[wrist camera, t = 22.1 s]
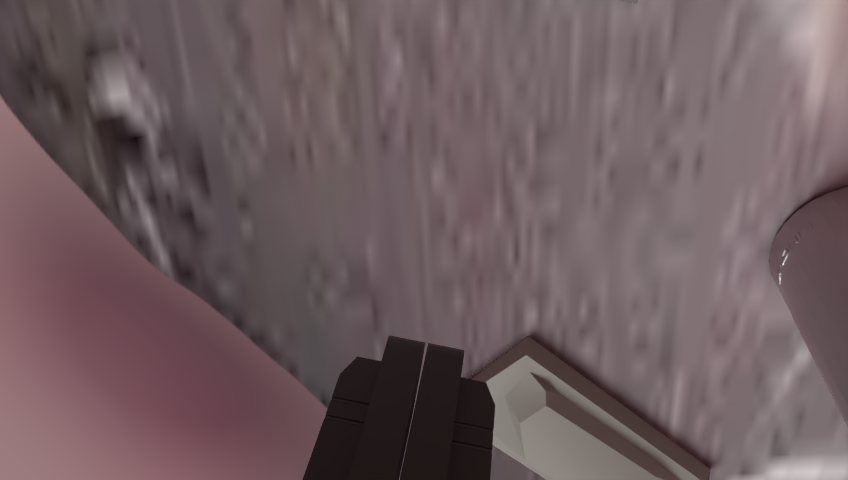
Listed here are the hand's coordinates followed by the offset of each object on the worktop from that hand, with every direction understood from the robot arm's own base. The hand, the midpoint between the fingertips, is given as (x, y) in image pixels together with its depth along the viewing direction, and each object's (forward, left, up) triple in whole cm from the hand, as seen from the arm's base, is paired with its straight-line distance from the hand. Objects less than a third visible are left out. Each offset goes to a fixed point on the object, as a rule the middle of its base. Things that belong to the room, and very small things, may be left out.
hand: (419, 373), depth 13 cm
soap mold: (-13, +31, -28) cm, 44 cm away
